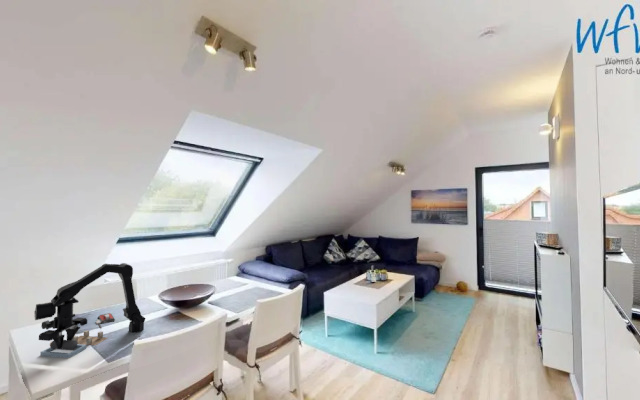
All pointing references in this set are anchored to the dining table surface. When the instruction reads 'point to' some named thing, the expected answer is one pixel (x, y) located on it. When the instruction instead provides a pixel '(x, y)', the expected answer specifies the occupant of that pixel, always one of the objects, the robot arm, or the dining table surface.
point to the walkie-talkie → (105, 319)
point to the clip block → (89, 339)
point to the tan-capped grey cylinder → (65, 345)
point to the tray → (64, 355)
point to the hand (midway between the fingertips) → (64, 346)
